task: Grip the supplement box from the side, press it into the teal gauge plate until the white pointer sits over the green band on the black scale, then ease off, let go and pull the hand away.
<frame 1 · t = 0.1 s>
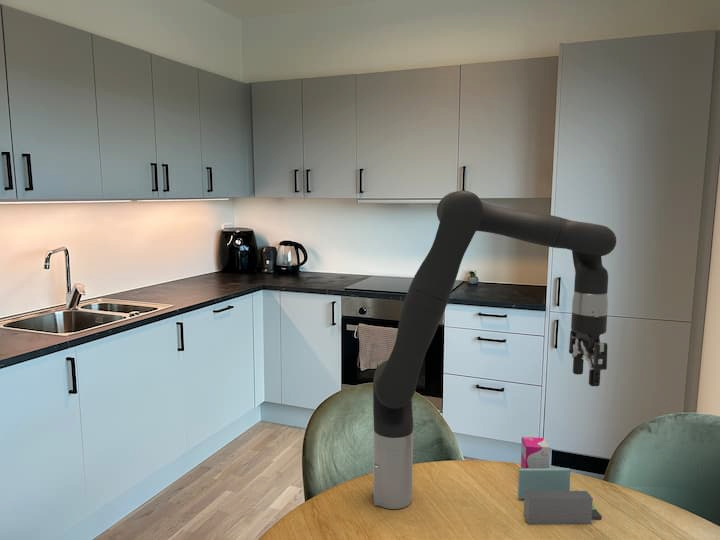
hand: (585, 379, 123), 29 cm above the table, tool pointing down, fingers open, 8 cm apart
supplement box: (533, 485, 132), on the table
gauge plate: (552, 483, 125), point 4 cm above the table, slide at 0.0 cm
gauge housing: (551, 512, 120), on the table
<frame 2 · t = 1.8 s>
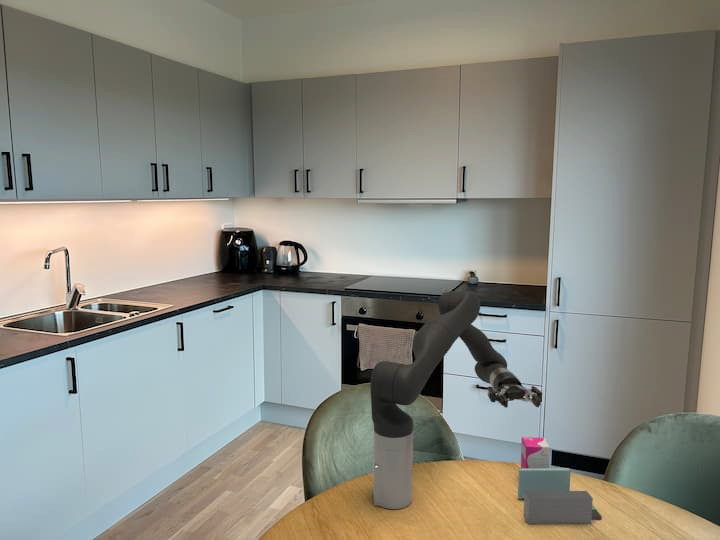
hand: (522, 403, 141), 17 cm above the table, tool horizontal, fingers open, 8 cm apart
nothing on the table moved.
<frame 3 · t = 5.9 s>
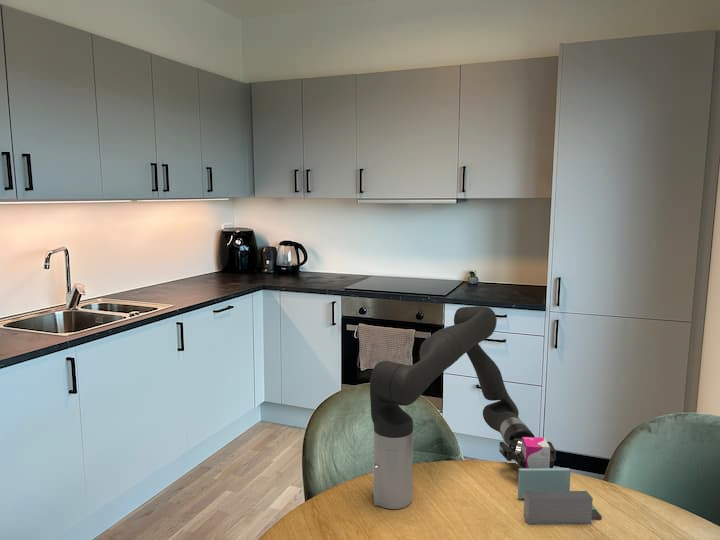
hand: (538, 464, 129), 7 cm above the table, tool horizontal, fingers closed on supplement box, 6 cm apart
supplement box: (533, 485, 132), on the table, touching gripper
everything else where it was.
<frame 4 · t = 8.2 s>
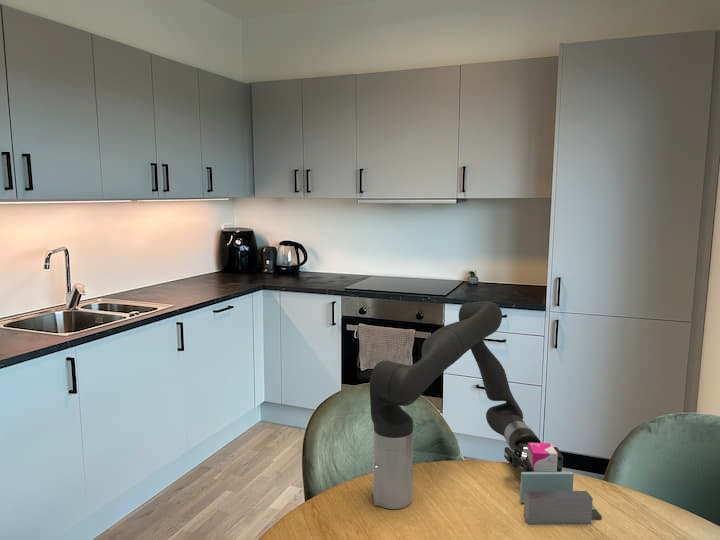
hand: (545, 471, 125), 7 cm above the table, tool horizontal, fingers closed on supplement box, 6 cm apart
supplement box: (540, 493, 128), on the table, touching gauge plate, gripper
gauge plate: (555, 487, 124), point 4 cm above the table, slide at 1.7 cm, touching supplement box
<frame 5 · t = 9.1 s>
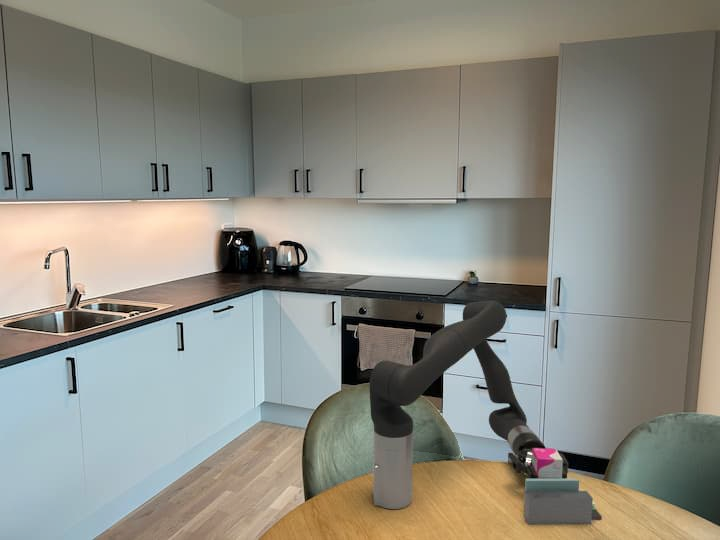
hand: (549, 478, 122), 7 cm above the table, tool horizontal, fingers closed on supplement box, 6 cm apart
supplement box: (544, 499, 125), on the table, touching gauge plate, gripper
gauge plate: (560, 494, 121), point 4 cm above the table, slide at 4.8 cm, touching supplement box
when the fingers open (7 cm above the table, at t = 10.7 s): supplement box stays where it is, on the table.
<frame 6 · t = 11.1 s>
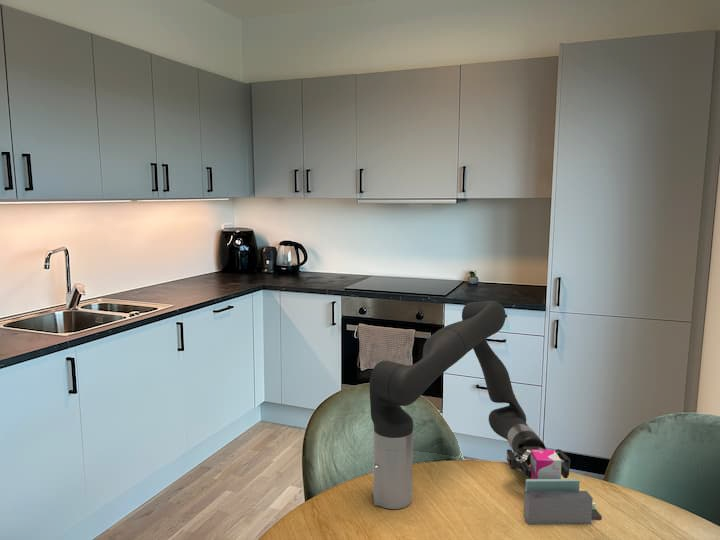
hand: (548, 474, 123), 7 cm above the table, tool horizontal, fingers open, 8 cm apart
supplement box: (544, 501, 125), on the table
gauge plate: (560, 494, 120), point 4 cm above the table, slide at 5.0 cm
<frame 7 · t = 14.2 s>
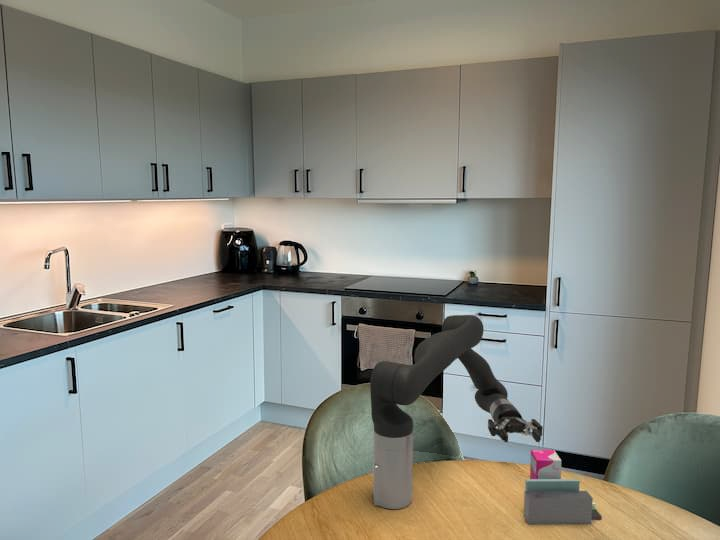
hand: (522, 438, 141), 8 cm above the table, tool horizontal, fingers open, 8 cm apart
nothing on the table moved.
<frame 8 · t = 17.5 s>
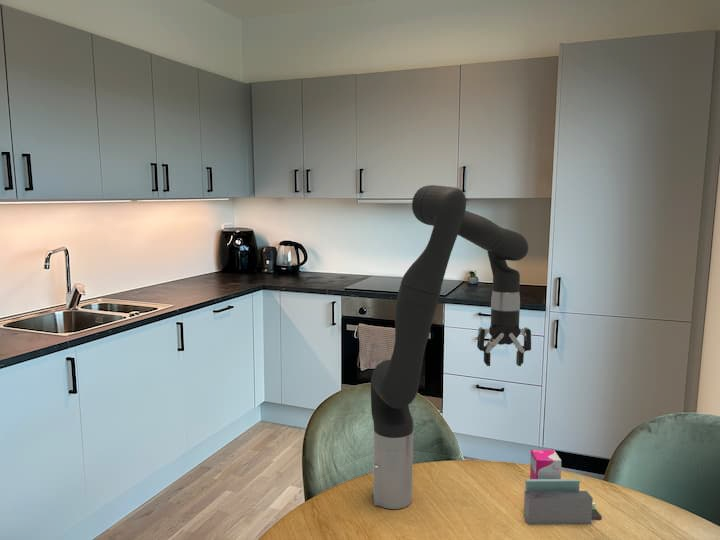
hand: (503, 365, 145), 26 cm above the table, tool pointing down, fingers open, 8 cm apart
nothing on the table moved.
at the end: gauge plate slide at 5.0 cm; supplement box tilted 0°; the gripper is holding nothing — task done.
